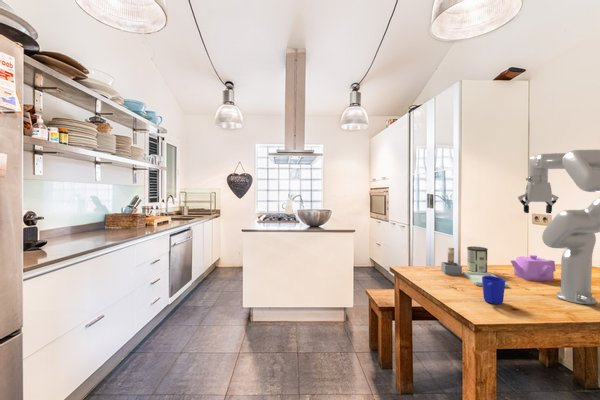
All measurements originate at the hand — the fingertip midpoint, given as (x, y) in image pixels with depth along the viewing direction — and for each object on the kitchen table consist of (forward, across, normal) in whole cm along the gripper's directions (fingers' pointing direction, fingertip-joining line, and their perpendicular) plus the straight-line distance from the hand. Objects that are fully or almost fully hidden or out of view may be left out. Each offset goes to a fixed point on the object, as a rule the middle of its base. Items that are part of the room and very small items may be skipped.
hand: (537, 213), depth 148 cm
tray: (+36, -26, -5) cm, 44 cm away
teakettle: (+36, +2, +8) cm, 37 cm away
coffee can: (+36, -23, +14) cm, 45 cm away
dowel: (+36, -39, +7) cm, 53 cm away
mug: (+36, -34, -39) cm, 63 cm away
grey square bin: (+36, -39, +6) cm, 53 cm away
